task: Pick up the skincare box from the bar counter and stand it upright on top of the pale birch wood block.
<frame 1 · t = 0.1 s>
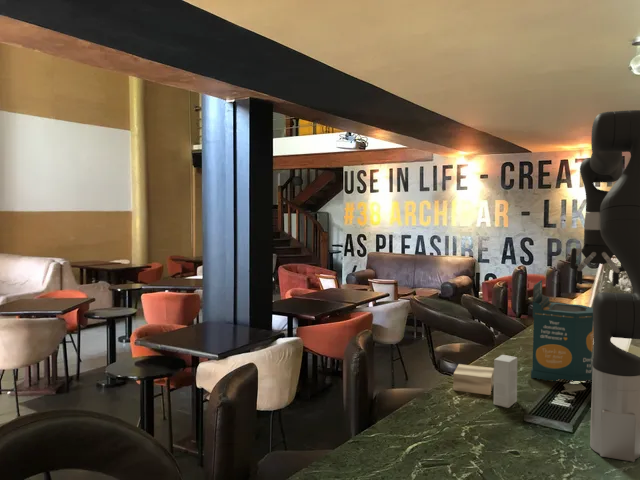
hand: (597, 284, 151), 29 cm above the table, fingers open, 8 cm apart
skincare box: (504, 403, 138), on the table
donation box: (563, 376, 162), on the table
birch block: (473, 387, 151), on the table
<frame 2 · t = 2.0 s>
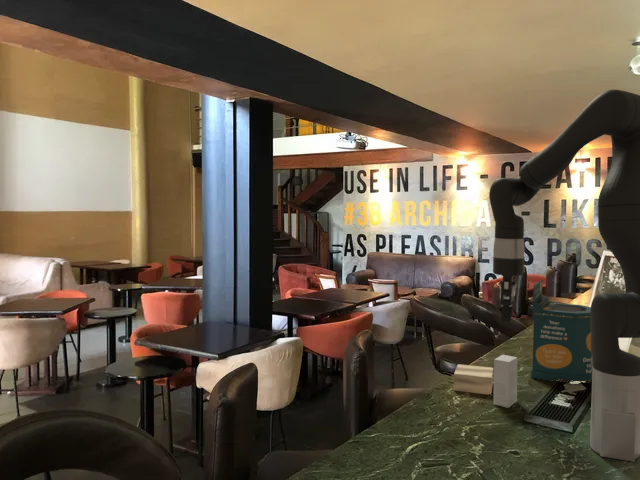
hand: (507, 318, 137), 22 cm above the table, fingers open, 8 cm apart
nothing on the table moved.
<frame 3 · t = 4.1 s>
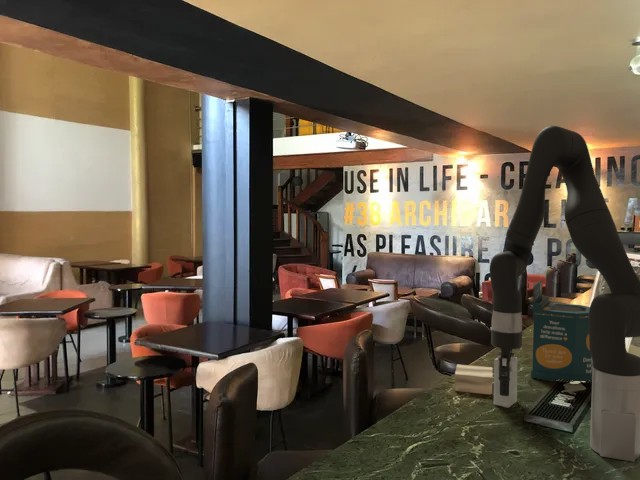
hand: (505, 390, 138), 3 cm above the table, fingers closed on skincare box, 7 cm apart
skincare box: (504, 403, 138), on the table, touching gripper
everything else where it was.
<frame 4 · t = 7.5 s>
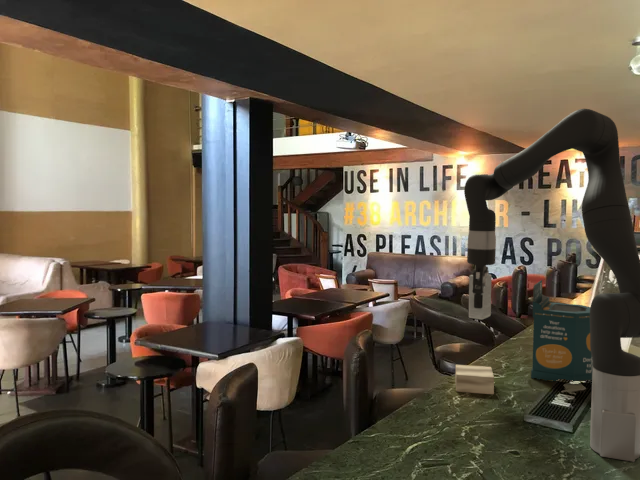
hand: (479, 305, 149), 24 cm above the table, fingers closed on skincare box, 7 cm apart
skincare box: (479, 317, 149), point 20 cm above the table, touching gripper
everything else where it was.
when the fingers open (10 cm above the table, at t = 10.8 s): skincare box drops 2 cm, resting on birch block.
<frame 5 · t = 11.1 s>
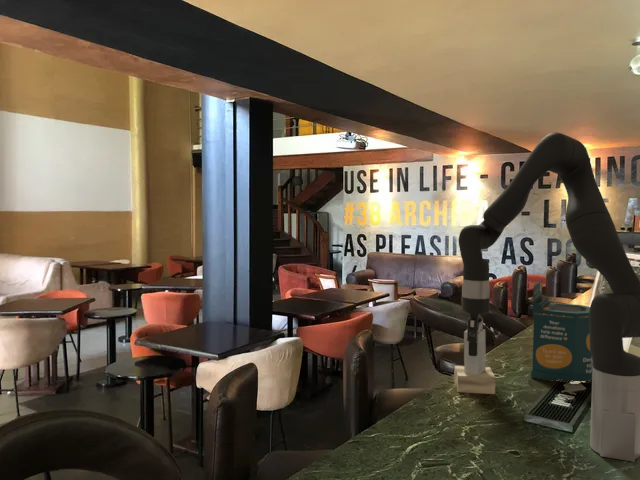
hand: (474, 352, 150), 10 cm above the table, fingers open, 8 cm apart
skincare box: (474, 372, 150), point 4 cm above the table, touching birch block
birch block: (473, 388, 151), on the table, touching skincare box
everything else where it was.
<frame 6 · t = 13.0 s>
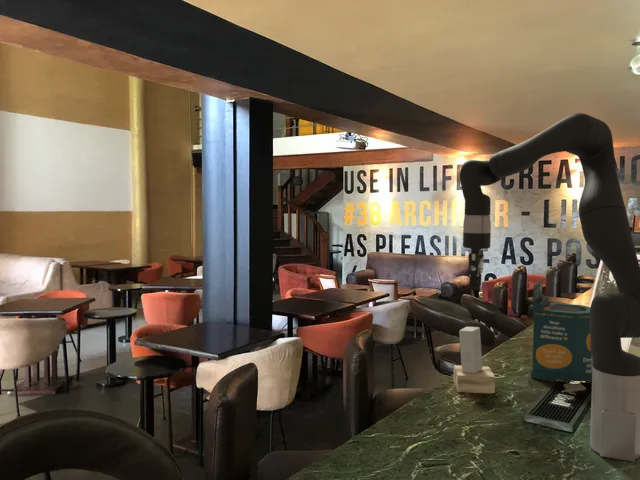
hand: (475, 287, 151), 28 cm above the table, fingers open, 8 cm apart
skincare box: (472, 371, 151), point 5 cm above the table
birch block: (473, 388, 151), on the table
everything else where it was.
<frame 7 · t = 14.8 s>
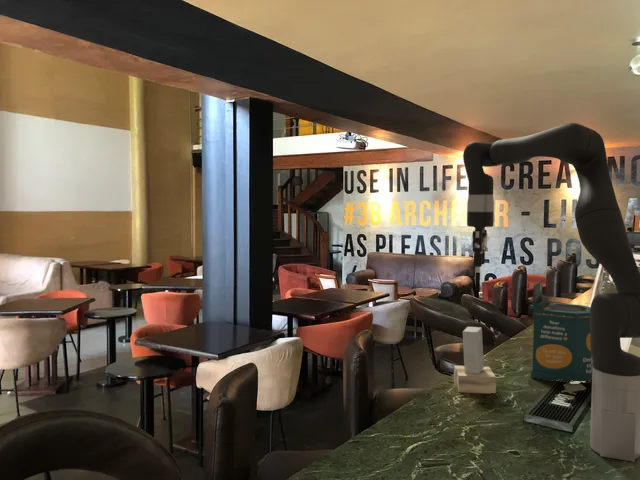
hand: (479, 265, 157), 34 cm above the table, fingers open, 8 cm apart
skincare box: (474, 371, 151), point 5 cm above the table, touching birch block
birch block: (474, 388, 151), on the table, touching skincare box
everything else where it was.
at the end: skincare box 0.2 cm off-centre on the birch block, point 5.0 cm above the birch block's base; skincare box tilted 4°; the gripper is holding nothing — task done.
